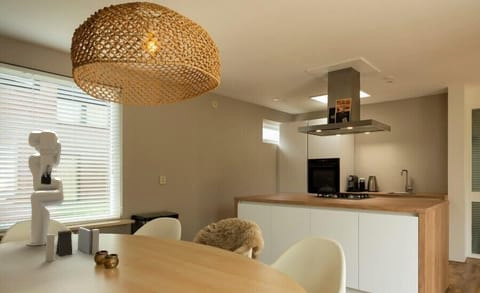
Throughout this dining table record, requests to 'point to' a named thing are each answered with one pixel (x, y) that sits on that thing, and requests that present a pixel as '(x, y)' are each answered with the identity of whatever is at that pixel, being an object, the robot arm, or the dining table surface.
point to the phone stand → (64, 243)
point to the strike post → (50, 247)
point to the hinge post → (95, 241)
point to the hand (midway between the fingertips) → (45, 184)
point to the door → (84, 240)
